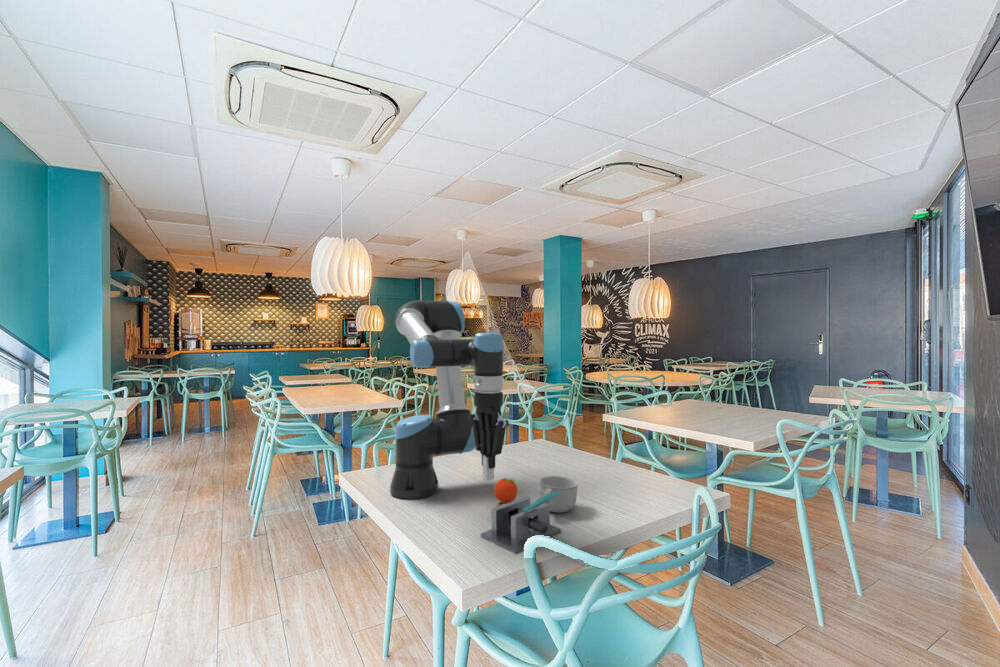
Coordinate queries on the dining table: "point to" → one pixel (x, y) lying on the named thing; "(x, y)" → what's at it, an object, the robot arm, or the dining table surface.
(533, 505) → the plate
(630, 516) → the dining table surface
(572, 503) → the teacup
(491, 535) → the bracket
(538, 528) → the pin
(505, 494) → the clementine
